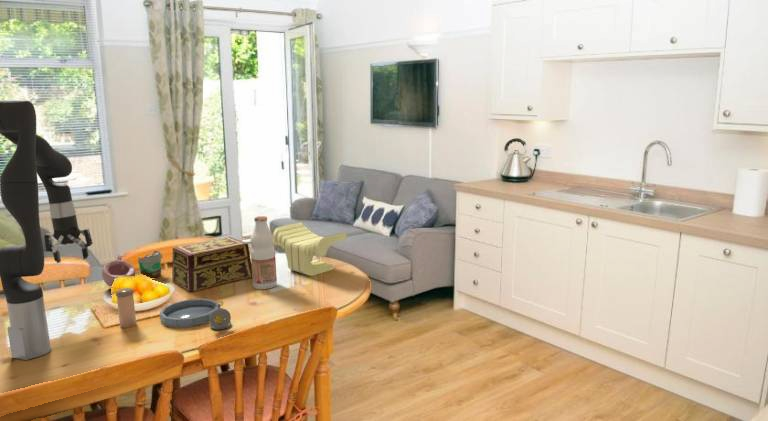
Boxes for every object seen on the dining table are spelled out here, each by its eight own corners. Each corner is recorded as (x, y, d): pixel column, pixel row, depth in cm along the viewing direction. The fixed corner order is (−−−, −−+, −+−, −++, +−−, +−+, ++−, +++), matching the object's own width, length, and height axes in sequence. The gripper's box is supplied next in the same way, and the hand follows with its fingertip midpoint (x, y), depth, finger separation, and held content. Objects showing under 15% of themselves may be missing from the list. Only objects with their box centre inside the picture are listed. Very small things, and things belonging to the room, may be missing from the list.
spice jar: (128, 329, 188) (124, 294, 186) (115, 327, 190) (111, 292, 187) (140, 323, 193) (136, 289, 190) (128, 321, 195) (124, 287, 192)
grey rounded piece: (223, 321, 193) (221, 292, 191) (238, 327, 188) (236, 298, 186) (202, 328, 187) (199, 299, 185) (217, 335, 182) (214, 305, 180)
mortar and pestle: (113, 294, 221) (110, 266, 219) (98, 288, 229) (94, 261, 226) (142, 286, 231) (139, 258, 228) (126, 280, 238) (123, 254, 236)
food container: (153, 282, 235) (150, 258, 233) (139, 281, 237) (137, 258, 235) (170, 273, 247) (167, 250, 245) (157, 272, 248) (154, 250, 246)
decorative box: (190, 293, 221) (186, 256, 218) (172, 282, 235) (168, 247, 232) (254, 277, 239) (251, 243, 236) (233, 268, 253) (231, 235, 250)
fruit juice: (248, 288, 226) (243, 218, 220) (262, 280, 234) (257, 214, 229) (268, 290, 222) (263, 220, 217) (281, 283, 231) (277, 215, 225)
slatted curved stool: (274, 267, 252) (272, 228, 248) (302, 259, 263) (301, 222, 260) (318, 281, 232) (317, 239, 228) (347, 272, 243) (346, 232, 239)
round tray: (194, 330, 186) (194, 322, 185) (148, 323, 193) (147, 315, 192) (230, 309, 203) (229, 302, 203) (186, 303, 210) (186, 296, 210)
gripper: (36, 219, 192) (46, 266, 195) (82, 214, 195) (91, 259, 198) (44, 216, 199) (53, 261, 202) (88, 210, 202) (97, 255, 205)
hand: (72, 260), depth 200 cm, fingers open, 8 cm apart
